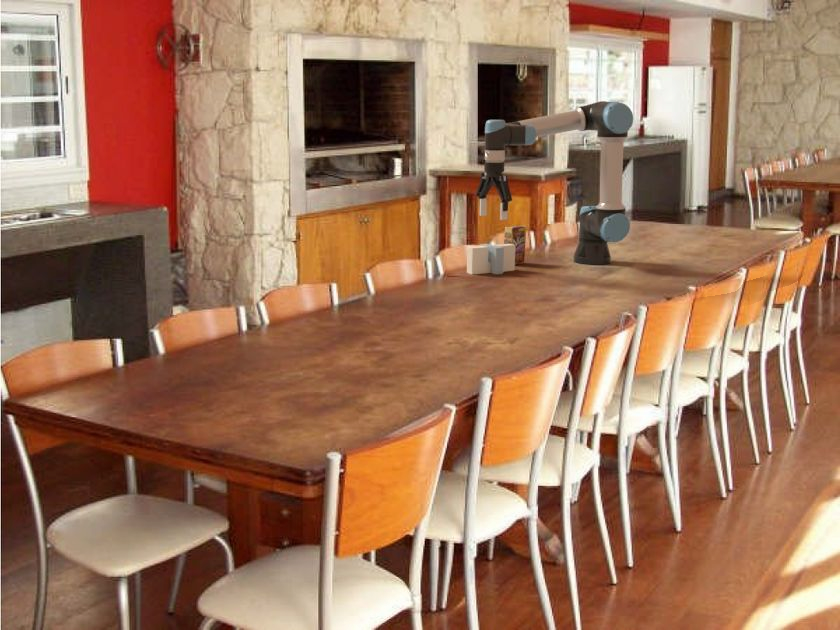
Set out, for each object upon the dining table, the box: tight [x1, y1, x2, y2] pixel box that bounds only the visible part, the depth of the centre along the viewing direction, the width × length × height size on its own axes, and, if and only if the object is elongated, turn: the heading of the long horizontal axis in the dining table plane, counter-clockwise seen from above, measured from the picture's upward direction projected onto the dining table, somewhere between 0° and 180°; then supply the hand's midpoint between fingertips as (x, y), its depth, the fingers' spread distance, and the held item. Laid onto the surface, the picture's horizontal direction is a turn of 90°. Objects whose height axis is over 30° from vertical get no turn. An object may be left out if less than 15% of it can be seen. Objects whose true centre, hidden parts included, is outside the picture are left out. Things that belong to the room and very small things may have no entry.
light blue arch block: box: [479, 243, 504, 275], centre depth 418 cm, size 11×4×10 cm, turn 32°
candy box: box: [503, 224, 527, 265], centre depth 436 cm, size 9×4×15 cm, turn 134°
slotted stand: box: [466, 243, 516, 275], centre depth 418 cm, size 20×4×10 cm, turn 122°
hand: (493, 217), depth 415 cm, fingers open, 13 cm apart
